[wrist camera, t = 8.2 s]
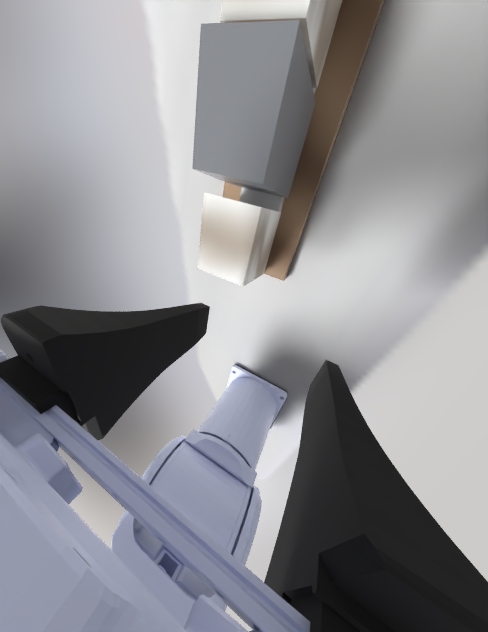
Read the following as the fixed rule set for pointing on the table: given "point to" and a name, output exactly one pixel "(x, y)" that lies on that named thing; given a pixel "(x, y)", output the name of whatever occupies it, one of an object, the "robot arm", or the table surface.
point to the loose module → (252, 104)
